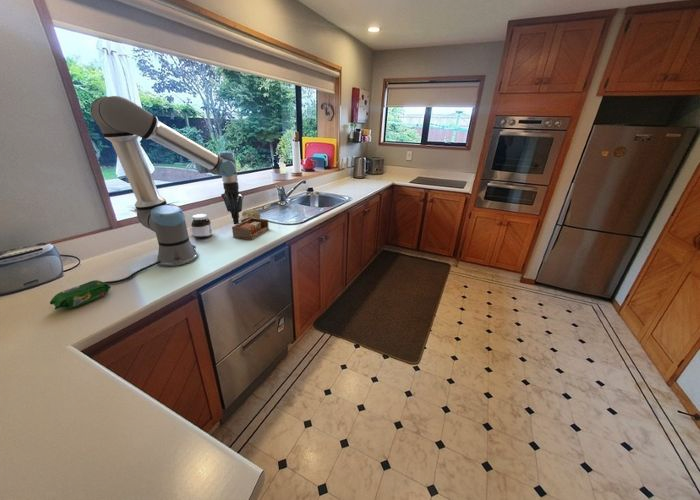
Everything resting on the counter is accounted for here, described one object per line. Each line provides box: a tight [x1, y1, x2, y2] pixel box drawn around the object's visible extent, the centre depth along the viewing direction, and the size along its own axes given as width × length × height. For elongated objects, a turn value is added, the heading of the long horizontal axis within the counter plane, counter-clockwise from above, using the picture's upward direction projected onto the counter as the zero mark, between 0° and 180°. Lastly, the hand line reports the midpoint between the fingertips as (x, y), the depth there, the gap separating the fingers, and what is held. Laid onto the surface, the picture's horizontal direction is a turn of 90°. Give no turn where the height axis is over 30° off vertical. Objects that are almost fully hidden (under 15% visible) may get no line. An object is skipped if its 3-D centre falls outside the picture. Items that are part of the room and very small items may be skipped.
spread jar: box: [189, 213, 213, 240], centre depth 150 cm, size 12×11×12 cm
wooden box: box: [231, 218, 270, 241], centre depth 158 cm, size 18×11×6 cm, turn 164°
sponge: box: [240, 208, 261, 223], centre depth 176 cm, size 13×8×20 cm
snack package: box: [49, 279, 112, 310], centre depth 94 cm, size 7×16×5 cm, turn 153°
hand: (236, 223), depth 159 cm, fingers closed
